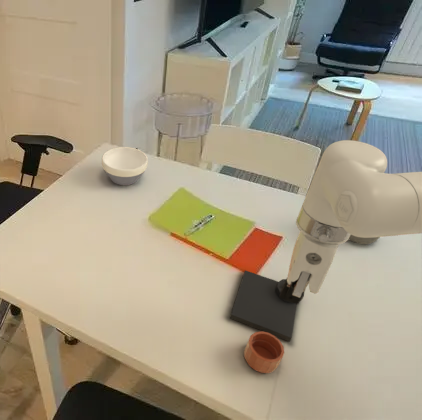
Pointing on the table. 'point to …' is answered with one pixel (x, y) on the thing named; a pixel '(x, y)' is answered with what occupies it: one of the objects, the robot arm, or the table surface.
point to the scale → (264, 306)
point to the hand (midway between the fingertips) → (289, 297)
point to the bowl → (124, 164)
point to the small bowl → (263, 352)
